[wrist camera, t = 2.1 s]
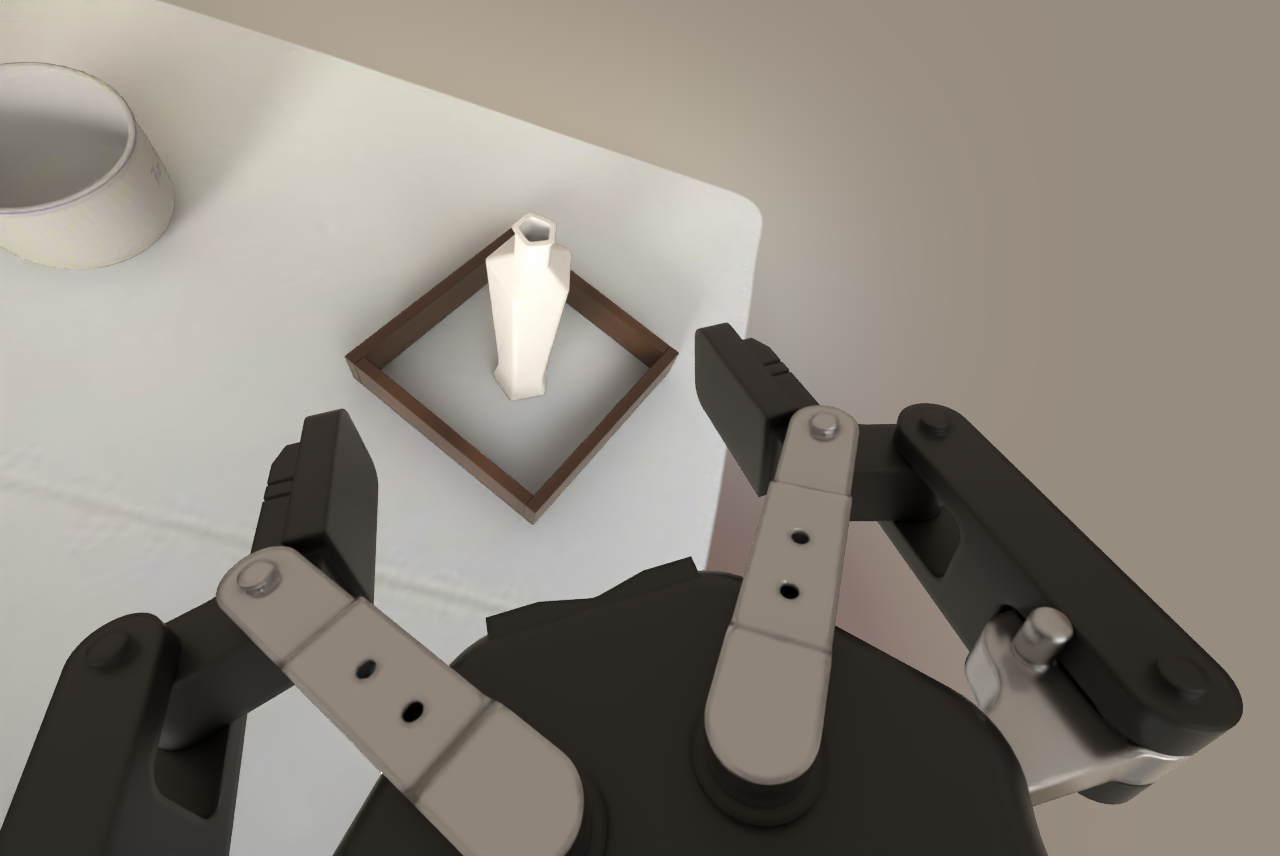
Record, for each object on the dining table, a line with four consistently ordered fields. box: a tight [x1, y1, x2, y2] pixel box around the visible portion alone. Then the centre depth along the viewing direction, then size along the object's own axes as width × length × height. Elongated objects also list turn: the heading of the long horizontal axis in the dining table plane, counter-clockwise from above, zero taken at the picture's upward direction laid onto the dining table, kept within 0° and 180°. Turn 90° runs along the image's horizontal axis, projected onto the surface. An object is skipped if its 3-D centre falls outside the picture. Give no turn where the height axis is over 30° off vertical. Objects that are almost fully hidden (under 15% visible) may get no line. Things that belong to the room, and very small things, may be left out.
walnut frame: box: [345, 228, 679, 525], centre depth 41 cm, size 16×16×3 cm
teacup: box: [0, 62, 175, 269], centre depth 37 cm, size 14×11×8 cm
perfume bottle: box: [486, 212, 571, 400], centre depth 36 cm, size 5×4×15 cm
